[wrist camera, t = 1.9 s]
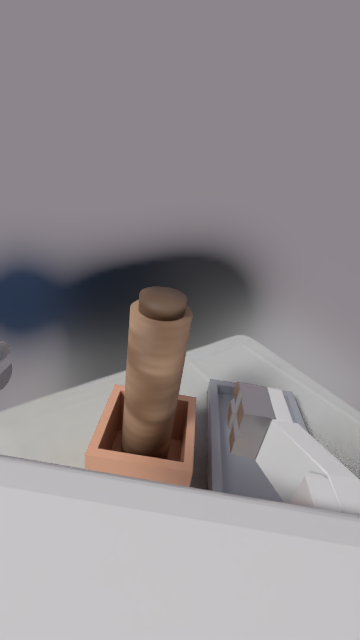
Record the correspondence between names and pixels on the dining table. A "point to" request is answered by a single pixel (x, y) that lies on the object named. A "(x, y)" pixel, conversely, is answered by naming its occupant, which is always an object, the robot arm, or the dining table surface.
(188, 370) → the dining table surface
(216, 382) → the tray
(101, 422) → the orange open box
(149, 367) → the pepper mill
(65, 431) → the dining table surface
